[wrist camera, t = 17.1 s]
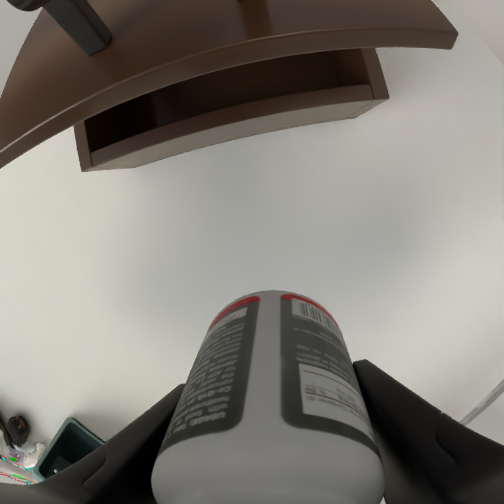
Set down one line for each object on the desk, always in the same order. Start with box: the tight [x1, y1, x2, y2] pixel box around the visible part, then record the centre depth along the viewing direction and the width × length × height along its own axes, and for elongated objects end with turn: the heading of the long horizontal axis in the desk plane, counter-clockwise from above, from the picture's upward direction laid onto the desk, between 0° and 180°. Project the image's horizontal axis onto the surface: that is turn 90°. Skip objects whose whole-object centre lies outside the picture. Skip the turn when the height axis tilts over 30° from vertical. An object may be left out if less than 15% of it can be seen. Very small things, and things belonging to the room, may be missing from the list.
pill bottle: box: [151, 290, 385, 504], centre depth 6 cm, size 5×5×8 cm
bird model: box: [8, 416, 28, 447], centre depth 27 cm, size 3×14×3 cm, turn 147°
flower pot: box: [32, 418, 105, 483], centre depth 22 cm, size 9×9×9 cm
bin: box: [73, 48, 389, 172], centre depth 12 cm, size 11×13×6 cm
